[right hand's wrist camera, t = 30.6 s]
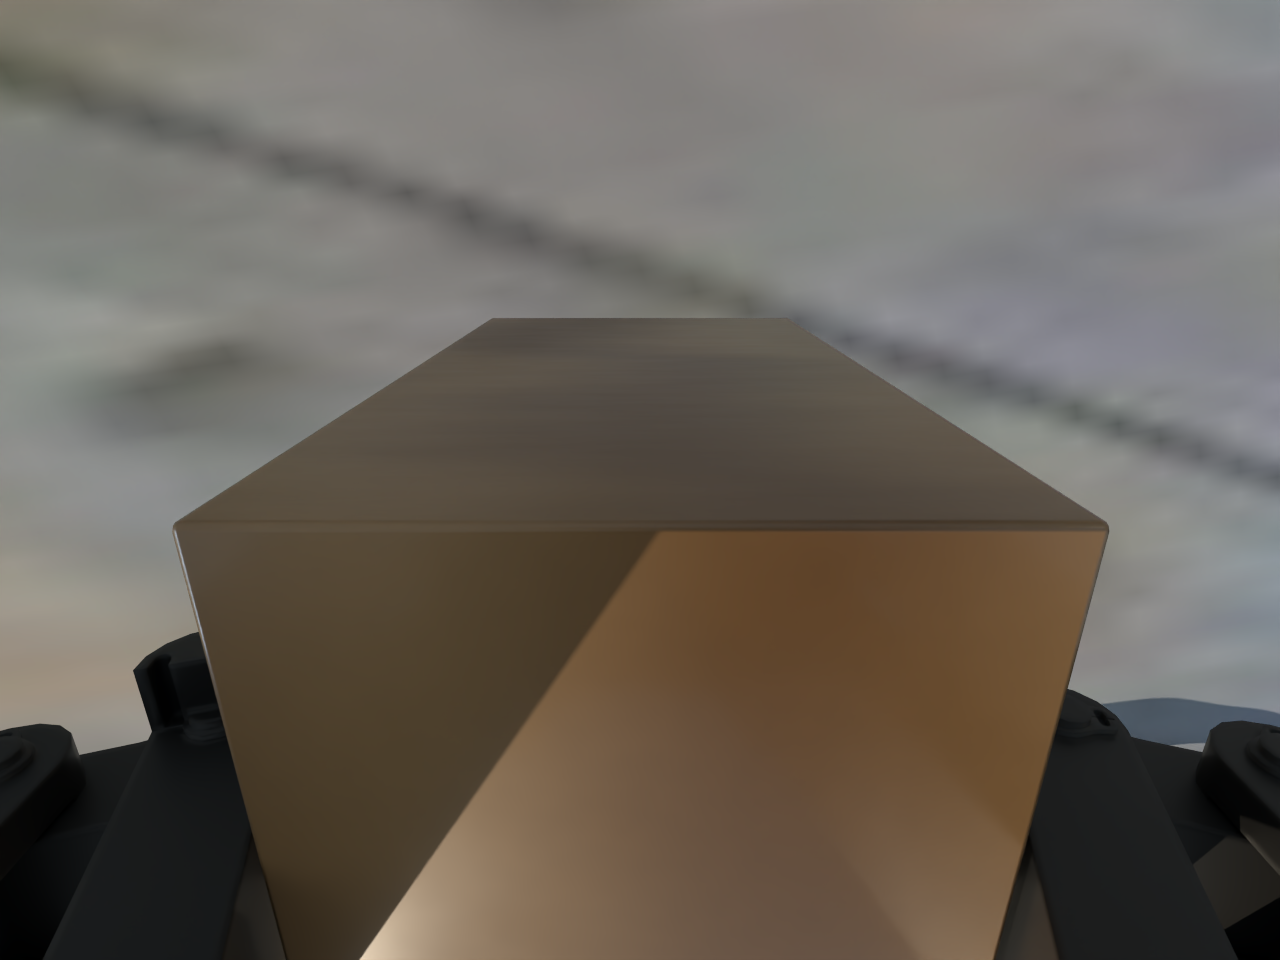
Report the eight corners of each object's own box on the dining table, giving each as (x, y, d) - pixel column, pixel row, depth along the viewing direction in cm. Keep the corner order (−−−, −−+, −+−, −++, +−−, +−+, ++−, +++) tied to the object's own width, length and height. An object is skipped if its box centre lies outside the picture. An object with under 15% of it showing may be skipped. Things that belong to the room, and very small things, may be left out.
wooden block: (517, 671, 18) (359, 1249, 8) (490, 317, 14) (165, 523, 5) (762, 671, 18) (921, 1249, 8) (788, 317, 14) (1117, 523, 5)
